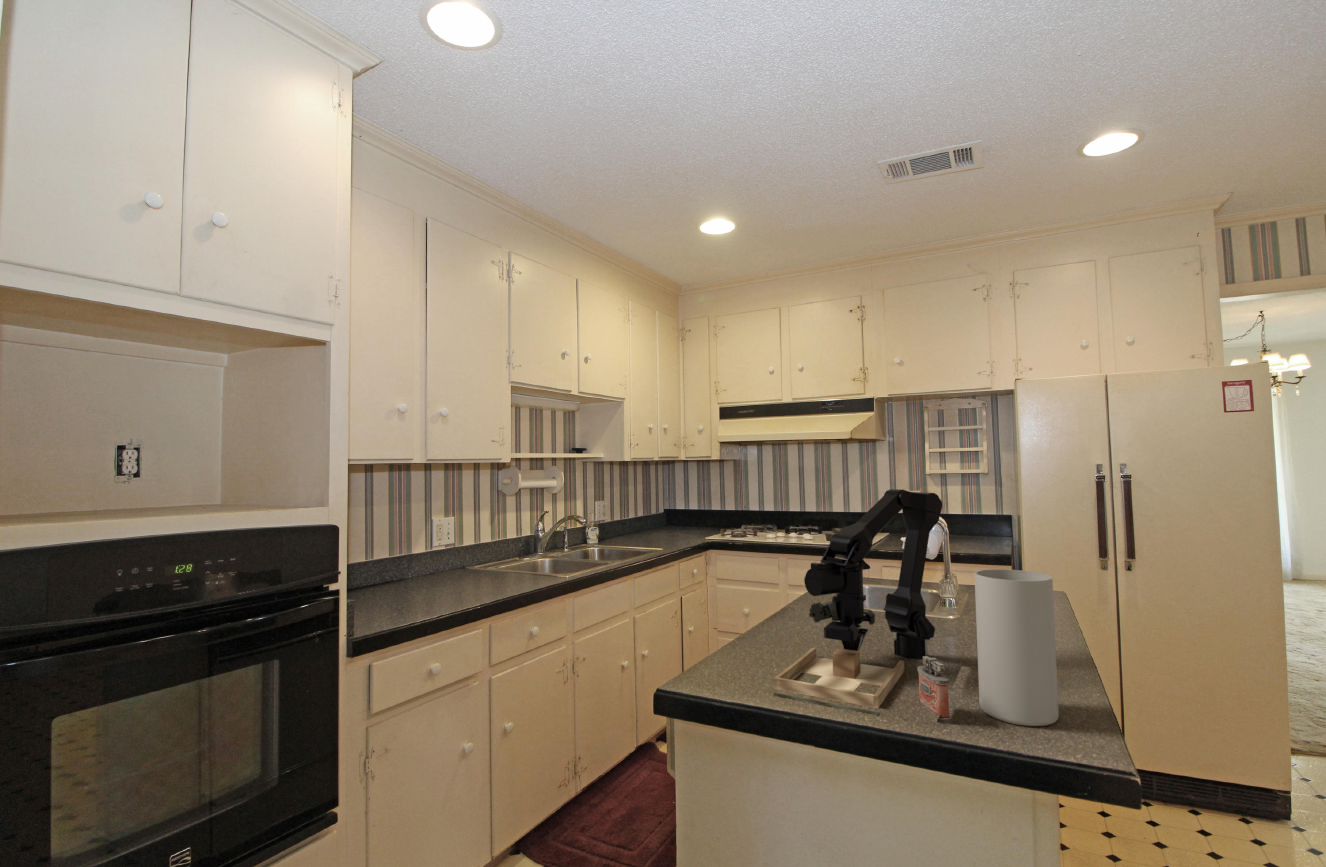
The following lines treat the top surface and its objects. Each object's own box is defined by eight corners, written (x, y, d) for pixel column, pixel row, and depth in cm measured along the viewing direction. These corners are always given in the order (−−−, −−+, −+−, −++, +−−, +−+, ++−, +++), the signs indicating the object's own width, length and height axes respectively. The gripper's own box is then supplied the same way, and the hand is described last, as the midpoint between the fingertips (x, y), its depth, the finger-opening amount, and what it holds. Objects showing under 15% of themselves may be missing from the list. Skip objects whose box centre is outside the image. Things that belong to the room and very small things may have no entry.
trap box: (904, 677, 133) (904, 660, 133) (878, 716, 112) (877, 696, 113) (813, 663, 143) (812, 647, 144) (774, 696, 123) (773, 678, 123)
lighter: (914, 706, 117) (912, 652, 117) (931, 705, 117) (929, 651, 118) (936, 724, 109) (934, 666, 109) (955, 723, 109) (953, 665, 110)
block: (860, 672, 132) (859, 651, 132) (854, 678, 128) (854, 656, 128) (839, 669, 134) (838, 648, 134) (833, 675, 130) (832, 653, 131)
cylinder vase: (1002, 728, 107) (996, 581, 108) (967, 701, 119) (962, 569, 121) (1075, 727, 107) (1068, 580, 108) (1031, 700, 119) (1026, 568, 121)
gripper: (826, 580, 148) (828, 647, 147) (799, 595, 132) (800, 669, 131) (874, 585, 142) (876, 654, 141) (852, 600, 126) (854, 679, 125)
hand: (851, 663), depth 135 cm, fingers closed
